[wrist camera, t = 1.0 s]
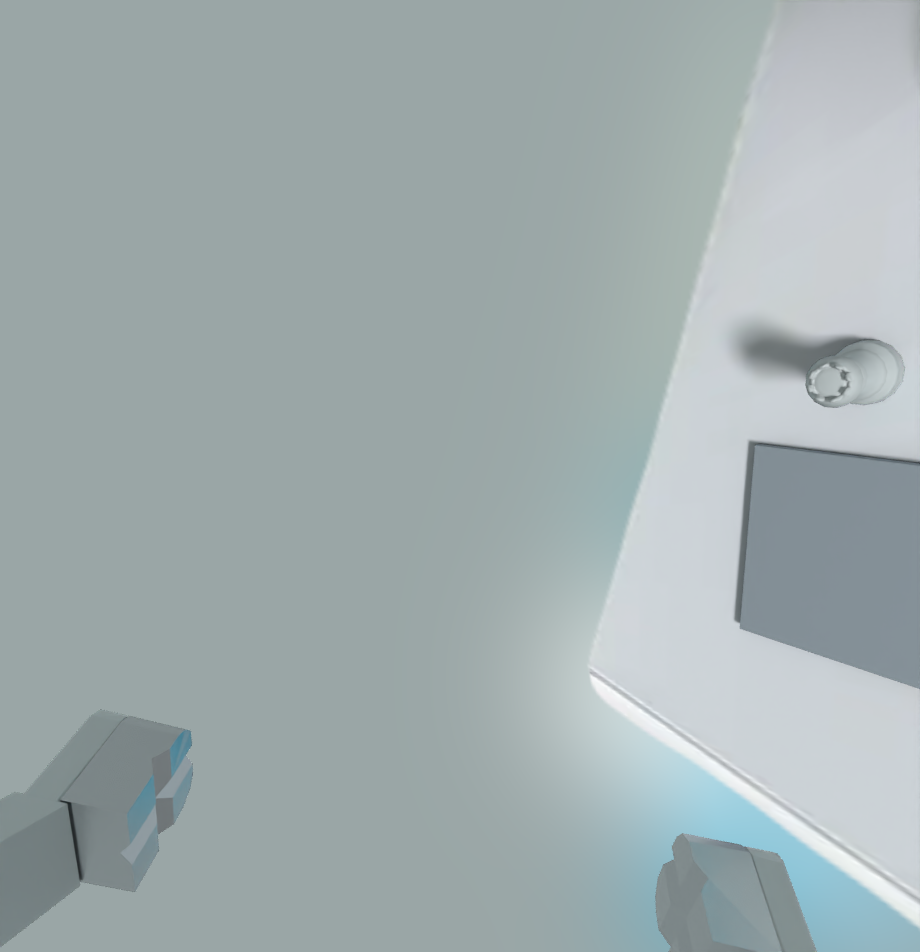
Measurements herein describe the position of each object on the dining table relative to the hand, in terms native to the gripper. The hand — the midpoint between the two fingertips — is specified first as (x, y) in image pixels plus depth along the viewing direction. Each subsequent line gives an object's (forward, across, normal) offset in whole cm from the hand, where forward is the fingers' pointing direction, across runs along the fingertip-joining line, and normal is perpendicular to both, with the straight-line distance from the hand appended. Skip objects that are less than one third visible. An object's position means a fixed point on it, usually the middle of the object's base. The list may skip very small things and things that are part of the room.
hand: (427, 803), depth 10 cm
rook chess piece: (+39, -25, -2) cm, 46 cm away
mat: (+34, -30, +11) cm, 47 cm away
